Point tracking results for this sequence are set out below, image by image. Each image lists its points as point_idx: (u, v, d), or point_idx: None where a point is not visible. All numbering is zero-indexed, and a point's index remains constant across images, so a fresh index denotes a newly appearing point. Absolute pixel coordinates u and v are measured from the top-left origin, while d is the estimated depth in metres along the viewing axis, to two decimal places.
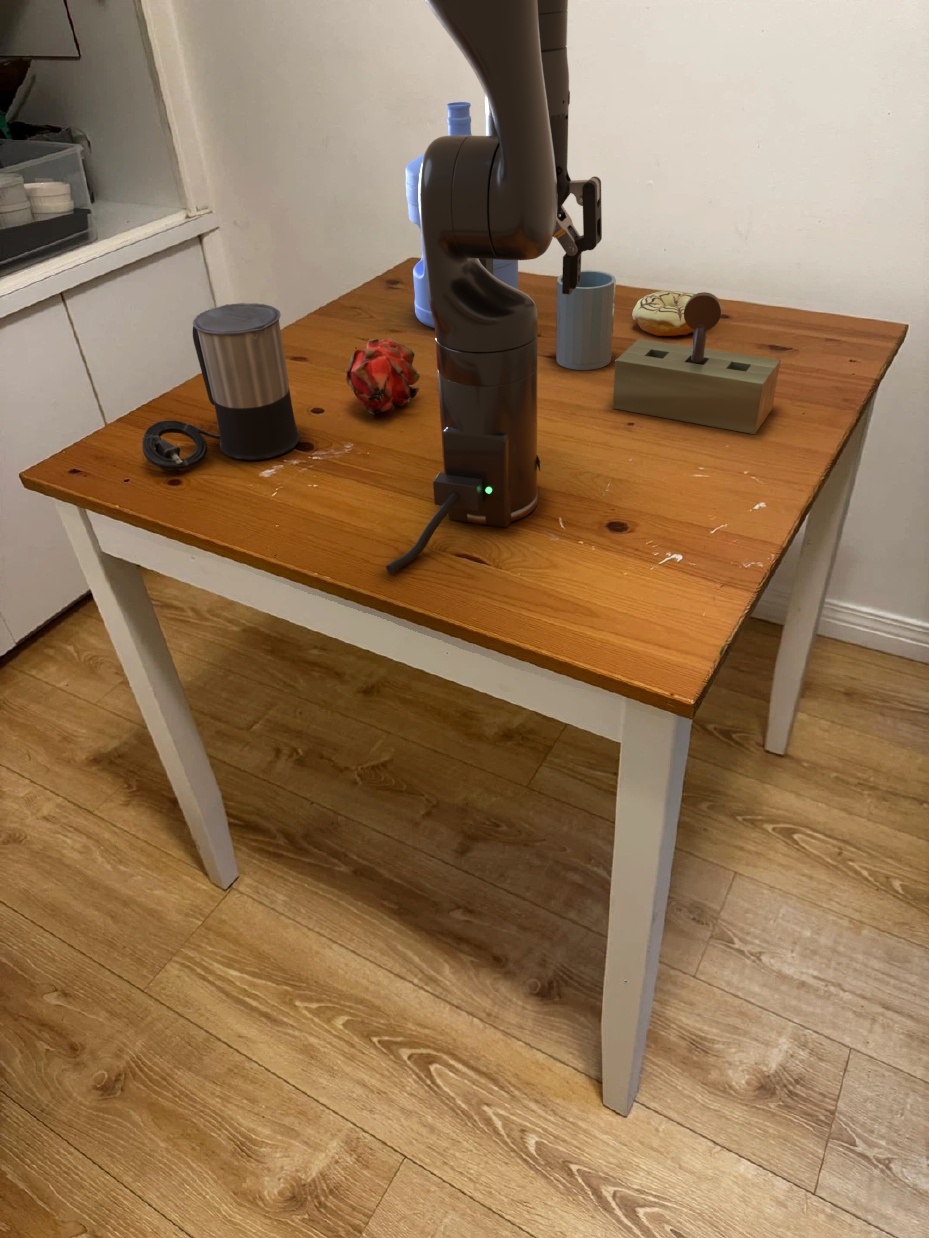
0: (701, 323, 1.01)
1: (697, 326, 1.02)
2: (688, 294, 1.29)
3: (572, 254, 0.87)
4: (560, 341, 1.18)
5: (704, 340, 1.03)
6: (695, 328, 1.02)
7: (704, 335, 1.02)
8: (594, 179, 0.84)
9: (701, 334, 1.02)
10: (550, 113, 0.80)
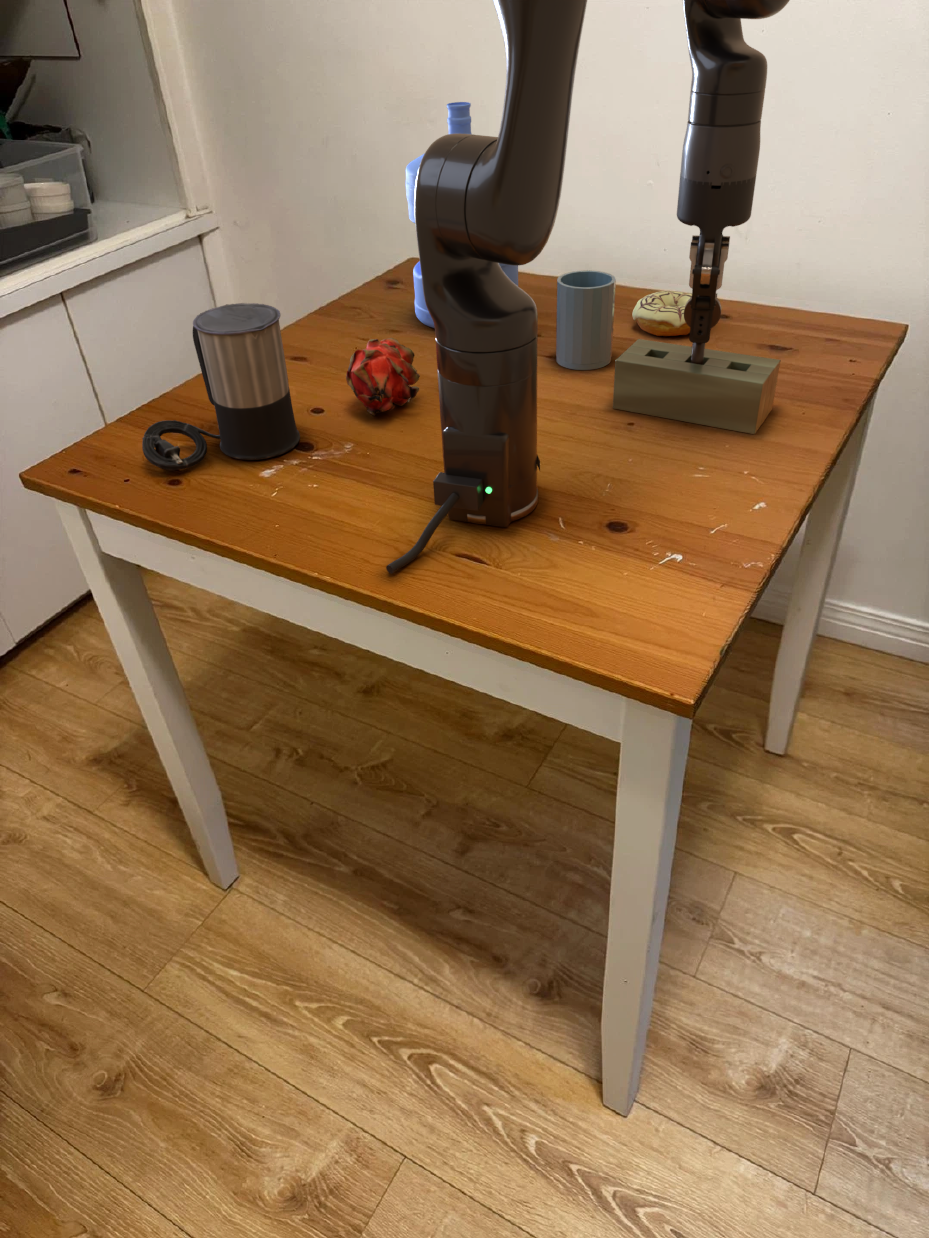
0: None
1: None
2: (688, 294, 1.29)
3: None
4: (560, 341, 1.18)
5: None
6: None
7: None
8: (706, 269, 0.92)
9: None
10: (692, 178, 0.91)
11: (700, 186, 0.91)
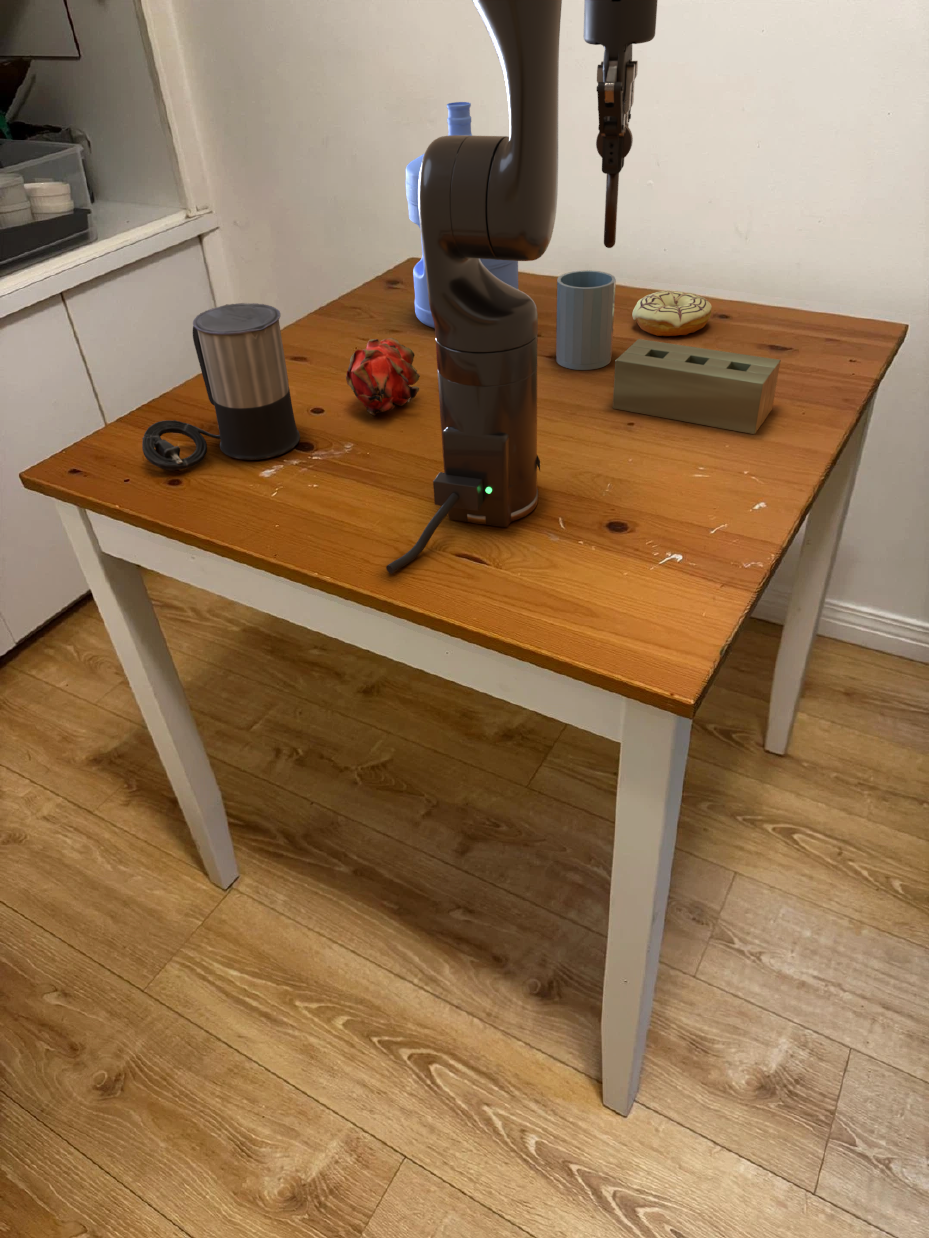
0: None
1: None
2: (688, 294, 1.29)
3: None
4: (560, 341, 1.18)
5: None
6: None
7: None
8: (609, 85, 0.94)
9: None
10: None
11: (601, 0, 0.93)
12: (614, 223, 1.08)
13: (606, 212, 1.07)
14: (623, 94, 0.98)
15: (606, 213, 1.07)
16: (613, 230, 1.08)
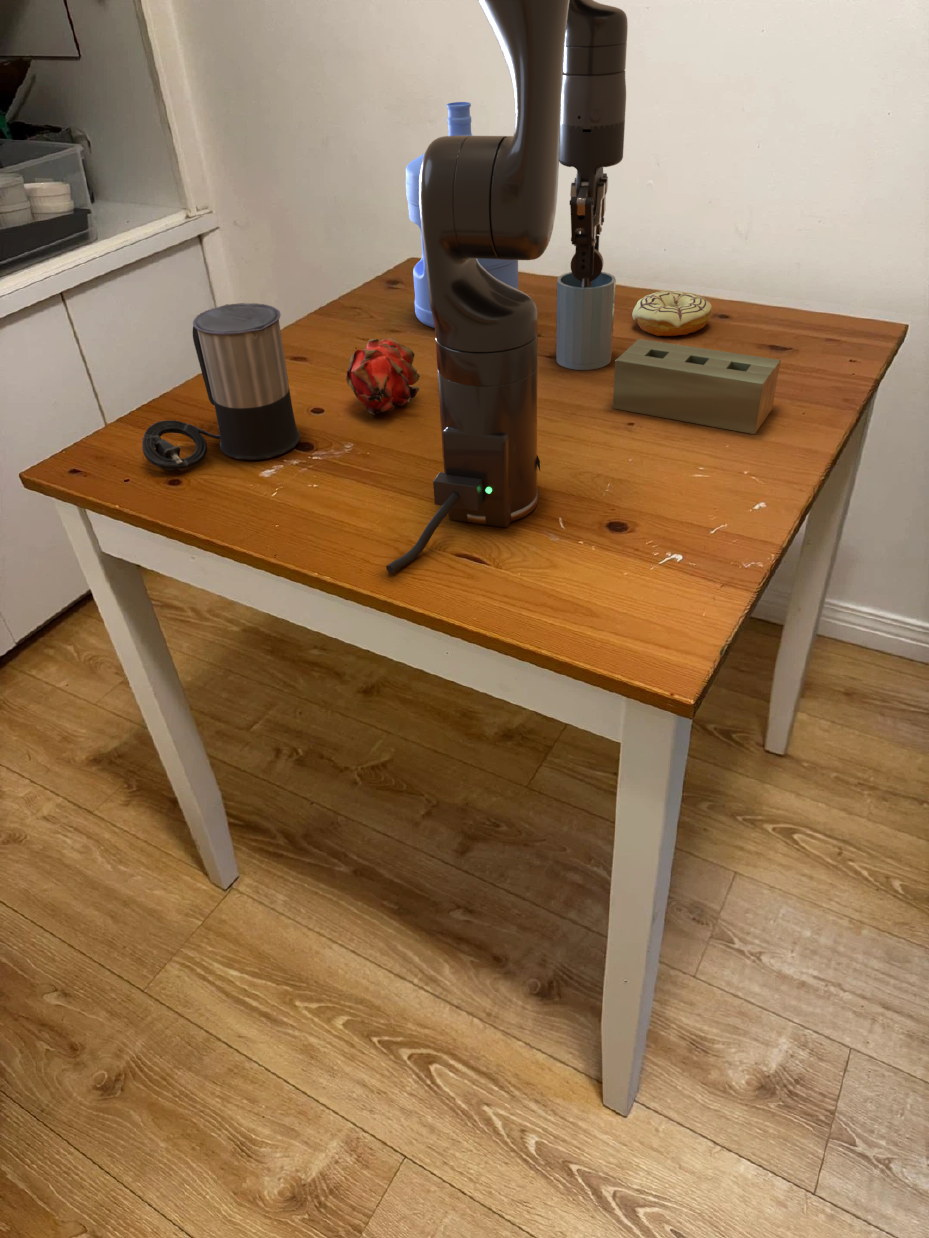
0: None
1: None
2: (688, 294, 1.29)
3: (574, 244, 1.11)
4: (560, 341, 1.18)
5: None
6: (581, 279, 1.15)
7: (589, 285, 1.15)
8: (581, 199, 1.04)
9: (587, 285, 1.15)
10: (566, 123, 1.03)
11: (573, 130, 1.03)
12: None
13: None
14: (594, 209, 1.08)
15: None
16: None
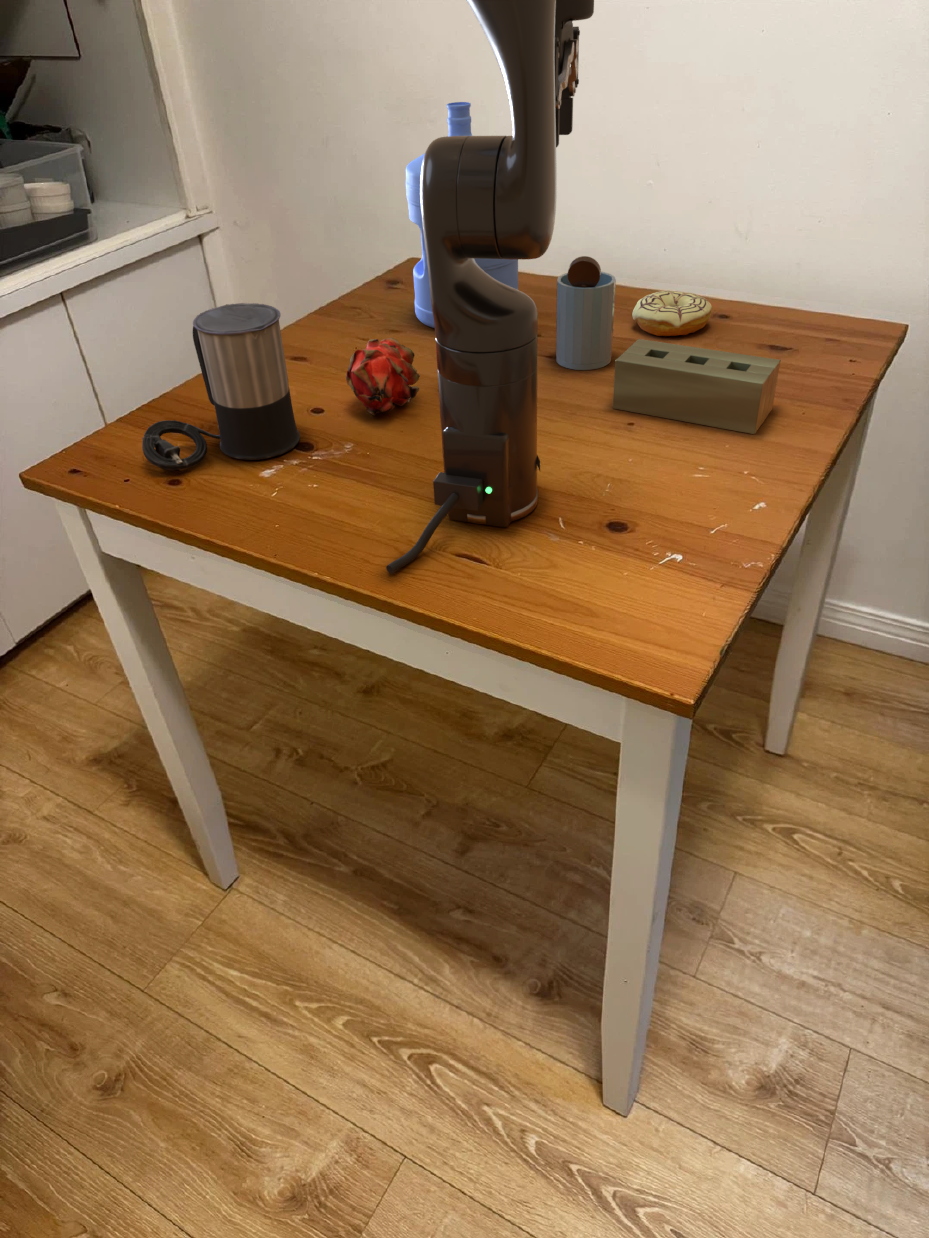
0: (584, 283, 1.13)
1: (580, 286, 1.13)
2: (688, 294, 1.29)
3: None
4: (560, 341, 1.18)
5: None
6: None
7: None
8: None
9: None
10: None
11: None
12: None
13: None
14: None
15: None
16: None
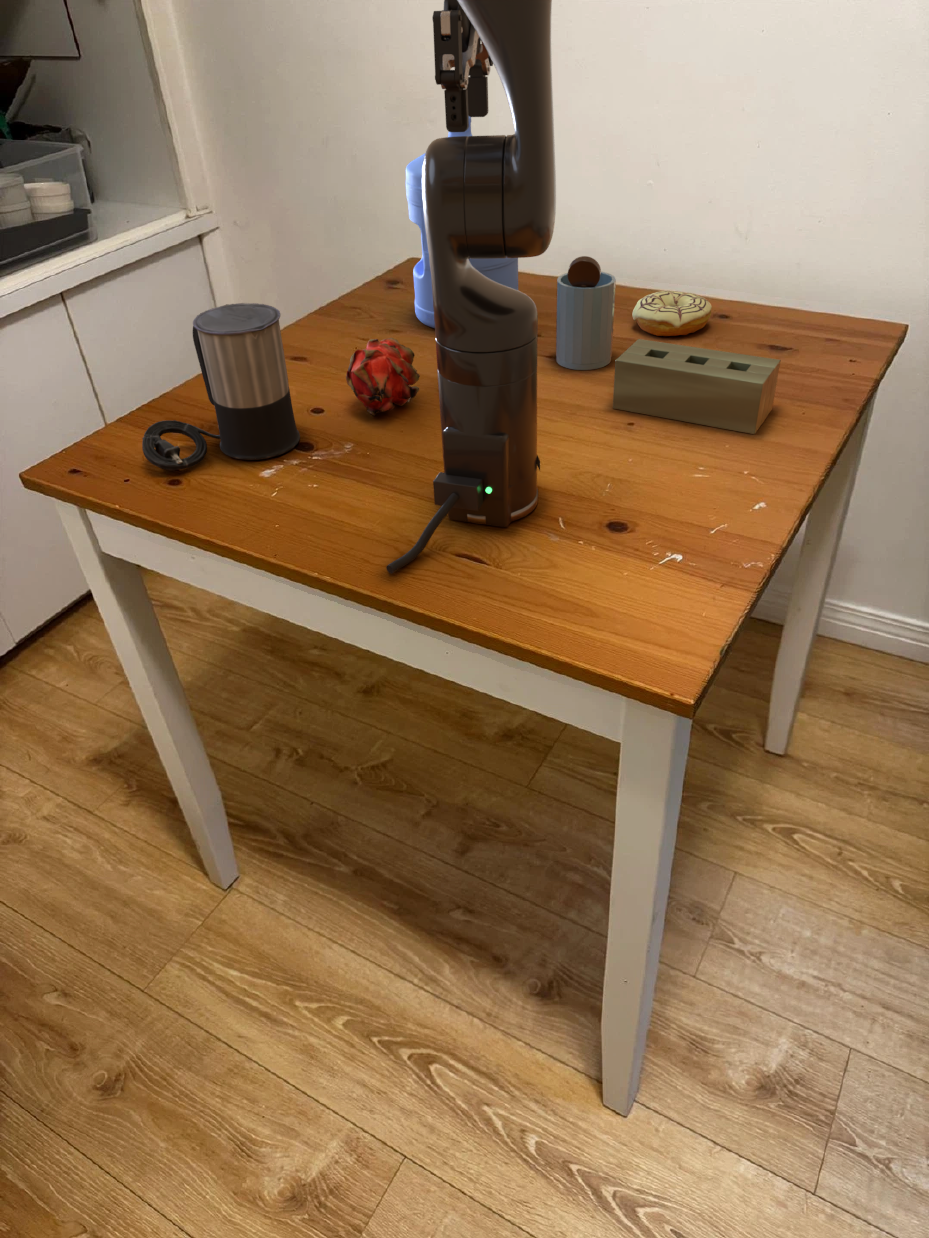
0: (584, 283, 1.13)
1: (580, 286, 1.13)
2: (688, 294, 1.29)
3: (442, 87, 0.90)
4: (560, 341, 1.18)
5: None
6: None
7: None
8: (446, 10, 0.85)
9: None
10: None
11: None
12: None
13: None
14: None
15: None
16: None
